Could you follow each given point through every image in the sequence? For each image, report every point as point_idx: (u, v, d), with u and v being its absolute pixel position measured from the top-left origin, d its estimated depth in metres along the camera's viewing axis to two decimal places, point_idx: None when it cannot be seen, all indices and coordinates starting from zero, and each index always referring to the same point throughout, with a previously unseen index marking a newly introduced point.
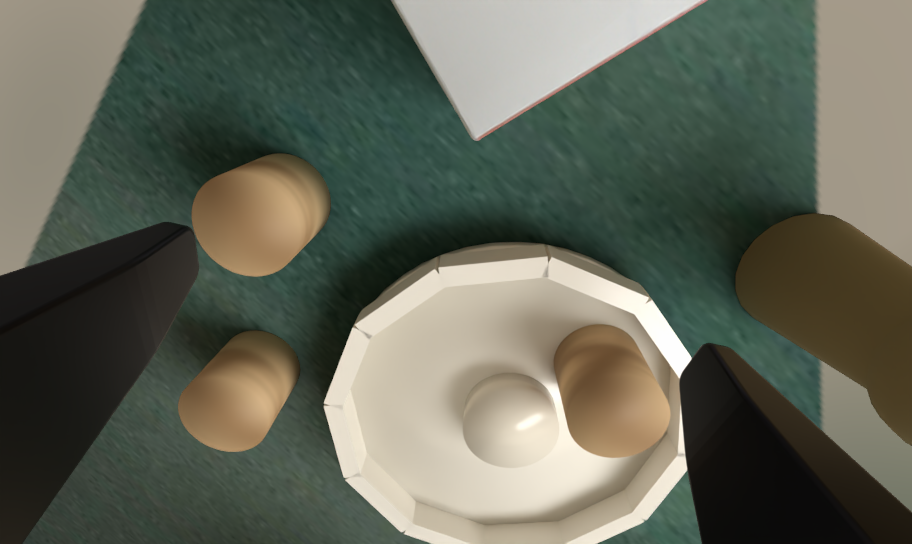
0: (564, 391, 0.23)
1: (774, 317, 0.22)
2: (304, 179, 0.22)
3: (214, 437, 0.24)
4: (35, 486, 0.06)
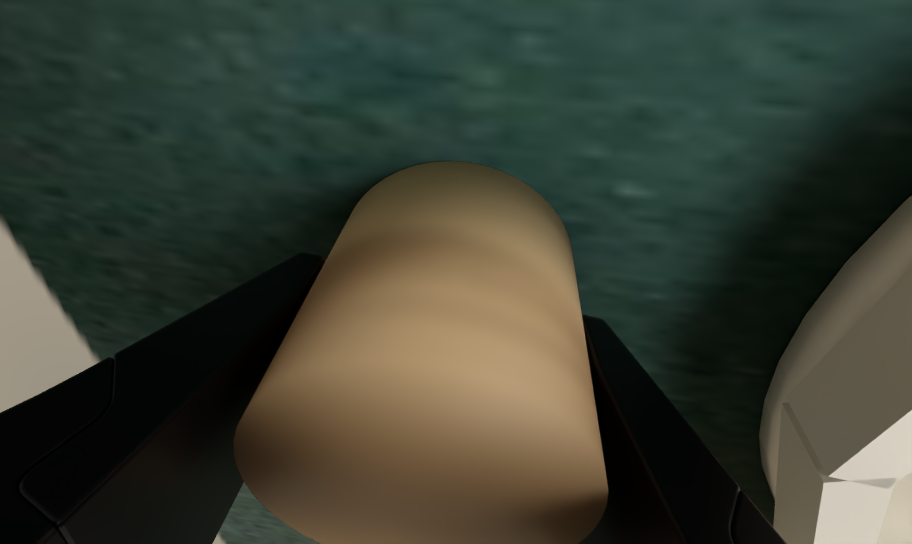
0: None
1: None
2: (469, 223, 0.07)
3: None
4: (210, 521, 0.06)
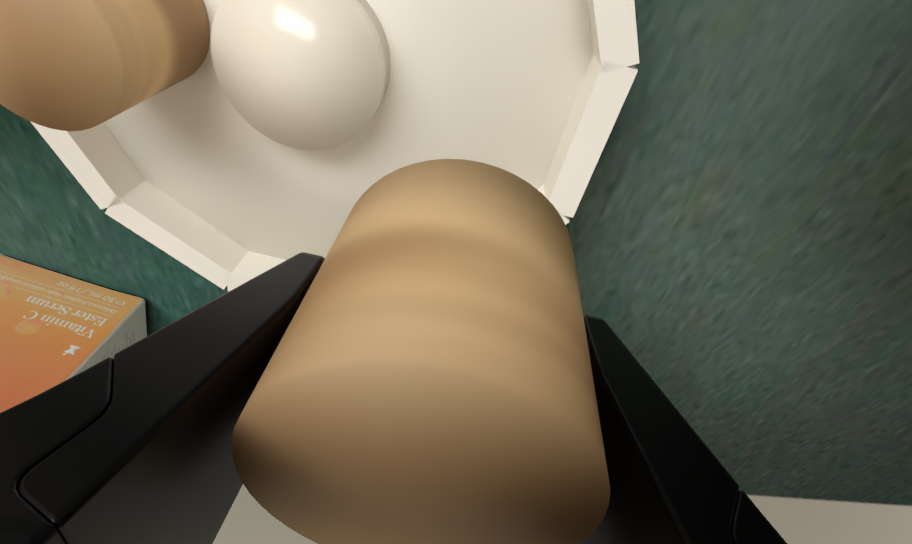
0: (133, 105, 0.14)
1: None
2: (469, 221, 0.07)
3: None
4: (210, 521, 0.06)
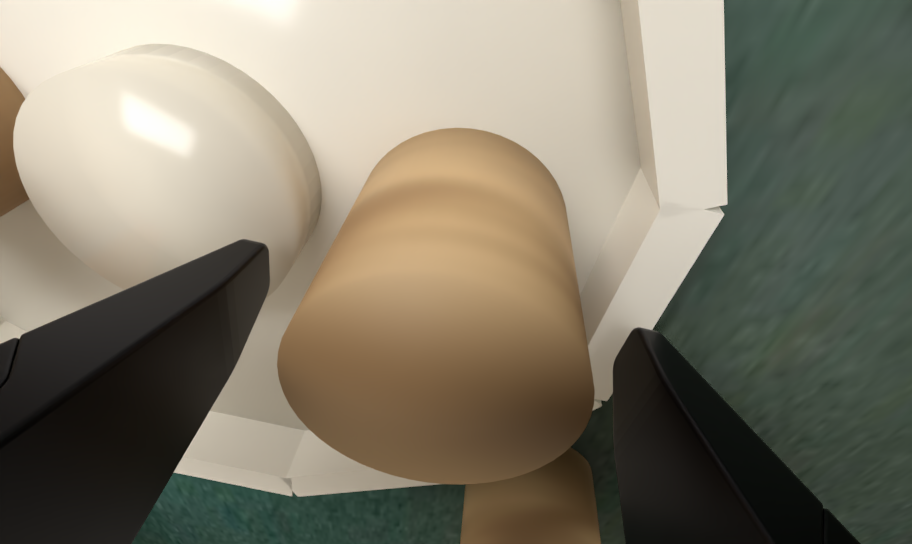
0: None
1: None
2: (476, 175, 0.08)
3: None
4: (134, 506, 0.06)
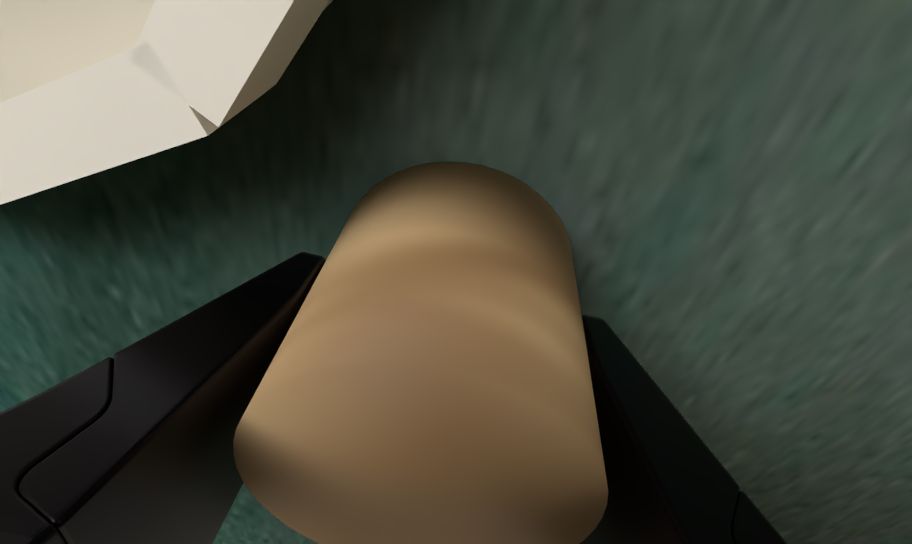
0: None
1: None
2: None
3: (542, 489, 0.06)
4: (210, 521, 0.06)
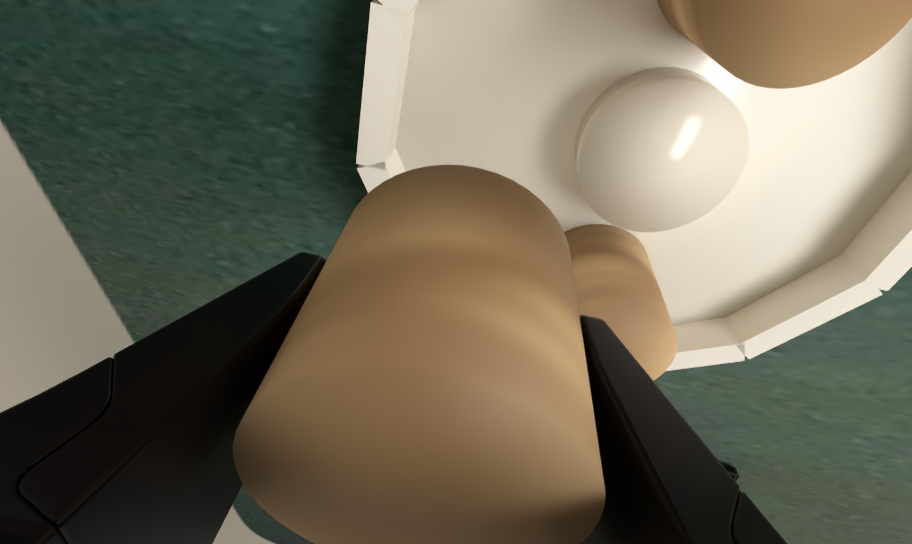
0: (688, 22, 0.12)
1: None
2: None
3: (539, 492, 0.06)
4: (210, 521, 0.06)
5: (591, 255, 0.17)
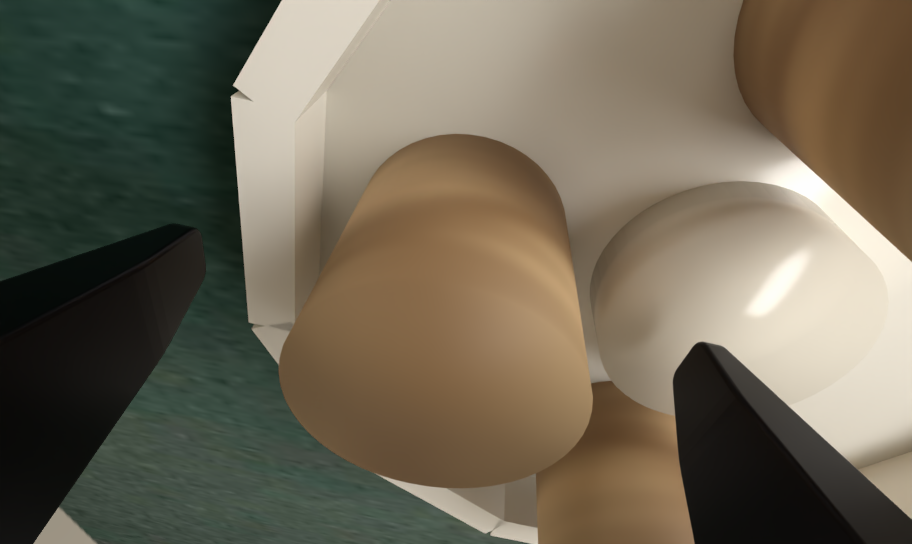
0: (835, 164, 0.06)
1: None
2: None
3: (537, 397, 0.07)
4: (44, 488, 0.06)
5: (617, 451, 0.11)
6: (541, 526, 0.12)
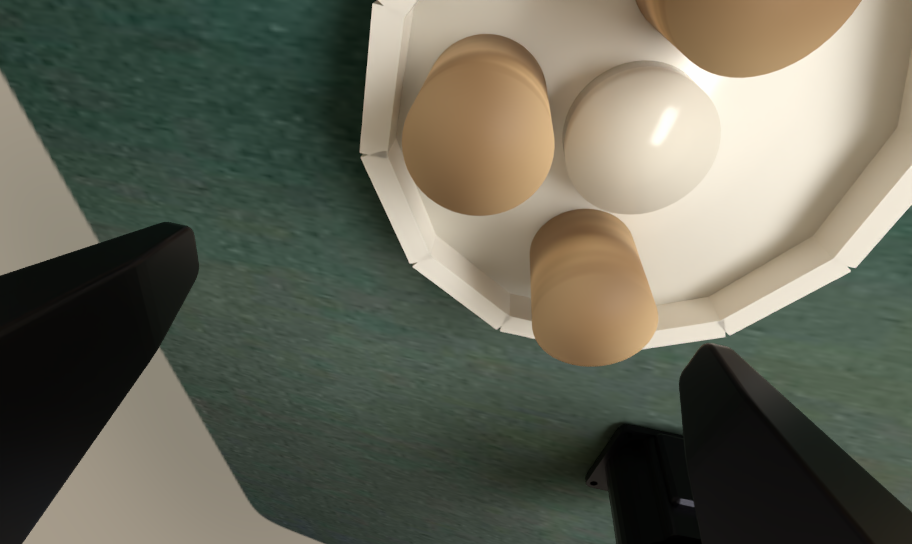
0: (658, 19, 0.13)
1: None
2: None
3: (528, 140, 0.14)
4: (35, 486, 0.06)
5: (578, 237, 0.18)
6: (533, 287, 0.19)
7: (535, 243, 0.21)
